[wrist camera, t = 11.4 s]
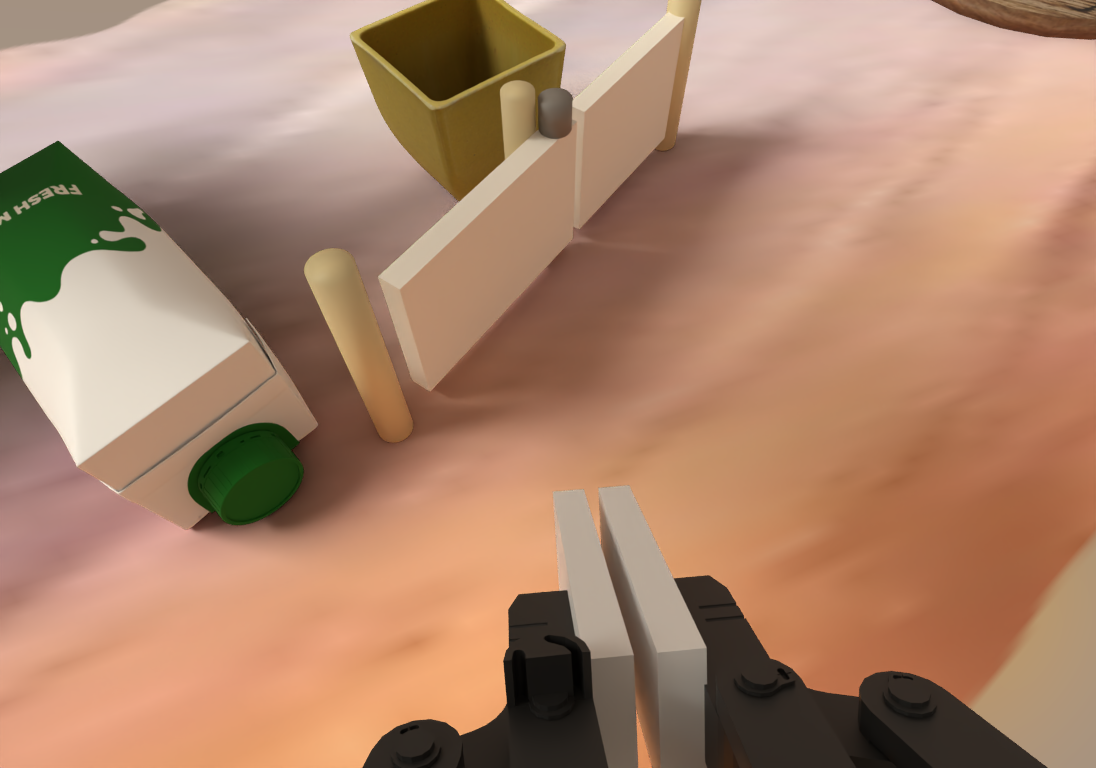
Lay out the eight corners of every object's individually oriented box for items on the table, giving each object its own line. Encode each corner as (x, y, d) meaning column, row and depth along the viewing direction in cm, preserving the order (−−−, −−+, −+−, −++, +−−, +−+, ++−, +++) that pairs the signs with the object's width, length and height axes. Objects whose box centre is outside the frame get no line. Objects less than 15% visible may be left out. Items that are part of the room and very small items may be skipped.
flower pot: (379, 162, 45) (344, 30, 37) (487, 109, 48) (474, -24, 40) (456, 239, 41) (434, 110, 34) (567, 176, 44) (570, 44, 37)
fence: (396, 449, 34) (329, 294, 24) (351, 417, 35) (268, 255, 25) (680, 139, 46) (716, -52, 36) (640, 122, 47) (664, -68, 37)
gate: (433, 393, 34) (395, 264, 26) (409, 378, 35) (365, 247, 27) (575, 239, 40) (581, 93, 32) (553, 228, 40) (553, 81, 32)
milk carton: (25, 324, 39) (204, 576, 31) (-121, 211, 31) (72, 512, 23) (162, 236, 41) (358, 448, 34) (60, 112, 33) (286, 352, 26)
